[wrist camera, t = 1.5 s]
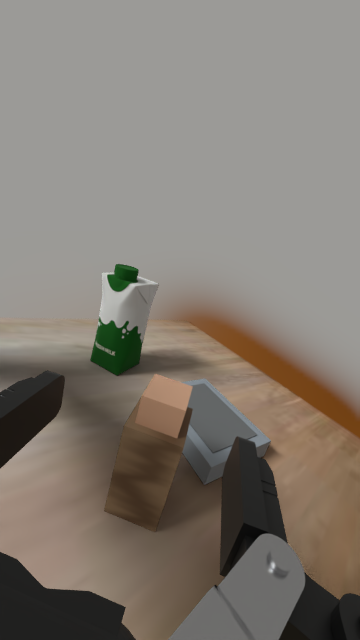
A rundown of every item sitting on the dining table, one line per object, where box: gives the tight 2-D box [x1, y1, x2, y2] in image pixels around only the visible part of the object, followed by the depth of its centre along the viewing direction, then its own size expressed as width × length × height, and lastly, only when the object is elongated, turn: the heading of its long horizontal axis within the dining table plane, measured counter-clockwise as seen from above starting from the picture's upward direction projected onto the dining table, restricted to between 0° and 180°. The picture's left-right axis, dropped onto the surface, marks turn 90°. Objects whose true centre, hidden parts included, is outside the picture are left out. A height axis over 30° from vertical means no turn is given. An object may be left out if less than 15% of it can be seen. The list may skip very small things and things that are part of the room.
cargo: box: [135, 374, 193, 438], centre depth 24 cm, size 4×4×3 cm
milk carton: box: [91, 264, 159, 375], centre depth 49 cm, size 9×9×20 cm
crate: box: [104, 398, 193, 532], centre depth 26 cm, size 6×6×11 cm
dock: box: [181, 379, 271, 485], centre depth 40 cm, size 16×12×3 cm
